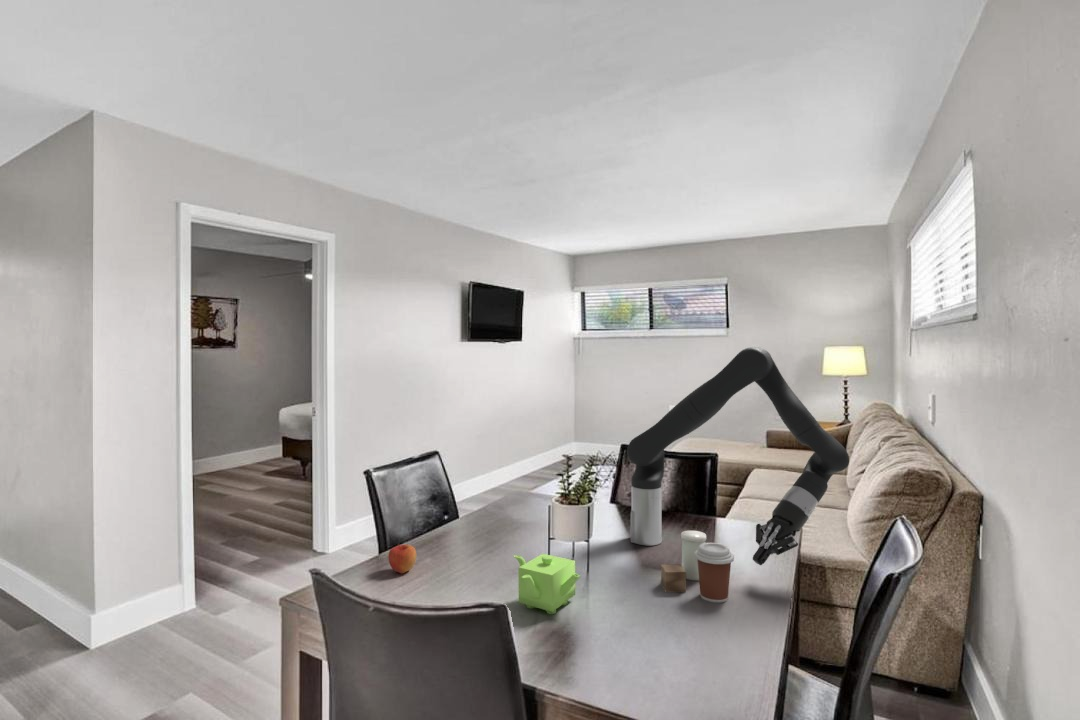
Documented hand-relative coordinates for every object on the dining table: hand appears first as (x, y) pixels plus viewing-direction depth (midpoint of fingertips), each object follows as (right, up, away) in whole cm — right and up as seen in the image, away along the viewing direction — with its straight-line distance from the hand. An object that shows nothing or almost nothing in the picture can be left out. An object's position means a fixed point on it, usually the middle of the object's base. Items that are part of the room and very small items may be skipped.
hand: (756, 562), depth 141 cm
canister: (-13, -7, +8) cm, 17 cm away
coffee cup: (-12, -7, -4) cm, 14 cm away
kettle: (-53, -7, -8) cm, 54 cm away
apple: (-91, -7, +12) cm, 92 cm away
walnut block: (-21, -7, +1) cm, 22 cm away
